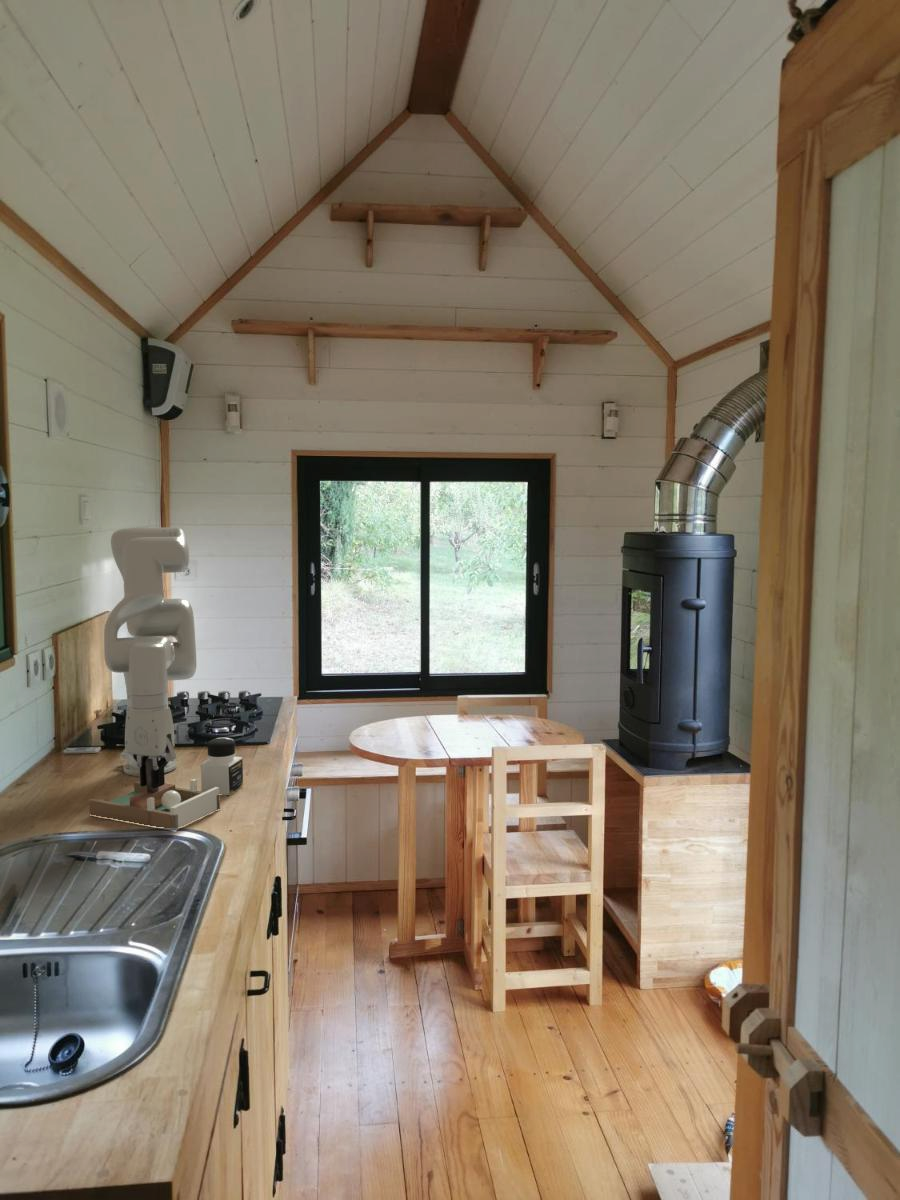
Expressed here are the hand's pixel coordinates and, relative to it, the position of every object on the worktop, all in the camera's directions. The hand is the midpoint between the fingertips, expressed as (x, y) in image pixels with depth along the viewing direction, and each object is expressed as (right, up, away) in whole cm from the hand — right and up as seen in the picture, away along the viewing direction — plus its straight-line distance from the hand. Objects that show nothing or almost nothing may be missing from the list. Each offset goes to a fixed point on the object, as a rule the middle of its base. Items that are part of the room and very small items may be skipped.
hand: (152, 784), depth 186 cm
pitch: (0, -6, 0) cm, 6 cm away
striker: (0, -4, 0) cm, 4 cm away
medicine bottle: (+11, -5, +15) cm, 20 cm away
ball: (+4, -3, -2) cm, 6 cm away
